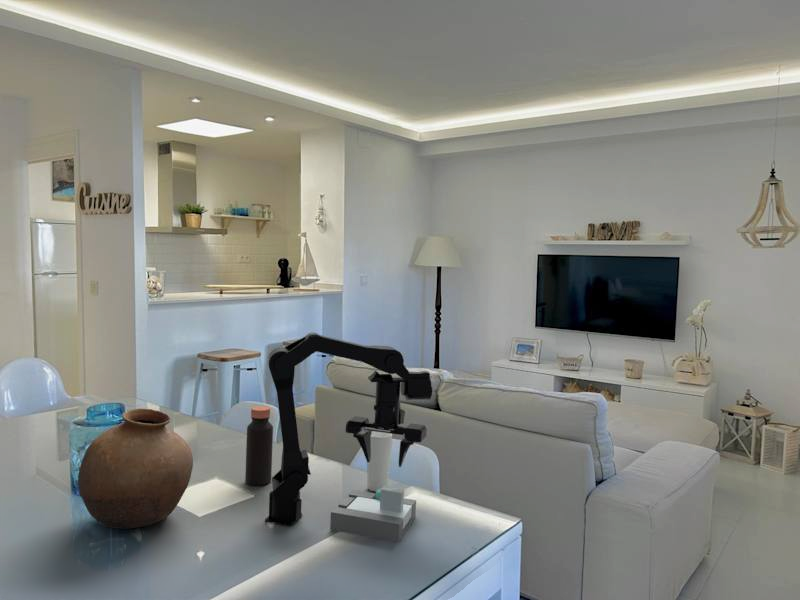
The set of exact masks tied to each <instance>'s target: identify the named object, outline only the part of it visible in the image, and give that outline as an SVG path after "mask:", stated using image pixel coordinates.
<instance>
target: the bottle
mask: <svg viewBox="0 0 800 600" xmlns="http://www.w3.org/2000/svg"><path fill="white" fill-rule="evenodd" d="M250 417H251V422H250V423H249V424H248V425H247V427H246V445H245V446H246V450H245V477H244V479H245V481H244V482H245V483H246V484H247V485H248V486H253V487H256V486H257V487H259V486H260V487H261V486H262V487H263V486H264V485H265V486H266V485H268V484H269V483H272V470H273V469H272V468H273V467H272V465H273V441H274V440H273V439H274V435H273V434H274V426H273V424H272V423H270V421H269V419H270V417H271V407H269V406H265V405H264V406H263V405H258V406H253V407H251V410H250Z"/></svg>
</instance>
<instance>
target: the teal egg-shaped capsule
mask: <svg viewBox="0 0 800 600" xmlns="http://www.w3.org/2000/svg"><path fill="white" fill-rule="evenodd" d="M380 492H381V489H378V490H376V492H375V494H376V500H380Z"/></svg>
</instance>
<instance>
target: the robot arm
mask: <svg viewBox="0 0 800 600" xmlns="http://www.w3.org/2000/svg"><path fill="white" fill-rule="evenodd" d="M314 353H322V354H326V355H331V356H335V357H339V358H343V359H348V360H351V361H355V362H356V361H357V362H360V363H364V364H365V365H368V366H371V367H373V368H375V369H377V370H379V371H382V372H383V373H379V372H378V371H377V370H374V371H373V373H372V374H370V375H369V376H368V377H367V379H368V380H369V381H370V382H371V383H376V384H375V399H374V400H375V402H374V403H375V404H374V405H373V410H374V421H373V422H371V421H370V420H369V418H368V417H362V416H355V415H354V417H352V418H350V419H349V420H348V421H347V422H346V424H345V433H346V434H352V437H353V438H355V439H357V441H358V443H359V445H360V447H361V449H362V452H363V454H364V458H365V460H366V463H367V462H370V459H371V433H372V431H376V432H384V433H391V434H392V435H400V436H403V437H402V438H403V439H401V440H400V443H399V453H398V467H399V468H401V467H402V466H403V463H404V461H405V458H406V455H407V453H408V450H409V449H410V447H411V446H412V445H414V444H415V443H422V442H423V440H425V438H426V437H427V427H426V425H425V424H418V423H412V422H411V423H409V424H408V425H407V426H399V425H404V423H405V422H404V421H405V416H406V414H405V413H406V411H405V410H404V409H402V408H401V402H400V399H401V398H400V397H401V396H402V397H404V398H405V400H406V401H414V400H415V401H418V400H419V401H421V400H422V401H428V400H431V399H432V396H433V386H432V379H431V373H430V372H429V371H428V370H424V371H423V370H422V371H409V369H408V368H407V367H406V365H405V364H404V362H405V361H404V356H403V354H402V353H401V351H399V350H397V349H396V348H394V347H392V346H390V345H365V344H360V343H356V342H355V343H354V342H351V341H347V340H343V339H339V338H334V337H331V336H330V337H329V336H326V335H323V334H322V335H321V334H319V333H317V332H309V333H307V334H306V335H304V336H303V337H301V338H300V339H297V340H295V341H293V342H292V343H289V344H288V345H286V346H284V347H282V346H281V347H280V346H279V347H276V348H274V349H272V350H271V351H270V353H269V354H268V356H267V363H268V367H269V368H268V369H269V372H270V375H271V378H272V381H273V384H274V388H275V390H276V397H277V406H278V407H277V408H278V415H279V424H280V431H281V440H282V453H281V464H280V470H279V471H277V472H276V473H275V474H274V475H273V476H271V484H272V490H271V491H270V492H269V494H268V495H269V497H268V498H269V499H268V500H269V501H268V516H266V518H265V519H264V521H265V522H266V523H273V524H277V525H281V526H288V527H290V526H293V524H294V523H296V522H297V521H298V520H299V519H301V517H302V516H303V513H302V503H303V502H302V499H301V492H300V490H301V489H302V488H303V489H304V487H305V486H306V484H307V483H308V482H309V475H310V476H311V475H312V473H311V470H310V465H309V463H310V461H309V459H310V457H309V454H308V451H307V449H306V448H305V449H303V450H301V448H300V441H299V433H298V431H299V430H298V425H297V424H298V423H297V416H296V408H295V400H294V398H295V397H294V389H293V388H294V381H295V369H296V366H297V365H299V364H301V363H302V362H304V361H305V360H306V359H307V358H309V357H310V356H311V355H314ZM393 374H396V375H397V376H399V377H394V376H393ZM400 394H401V395H400Z"/></svg>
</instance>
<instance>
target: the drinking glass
mask: <svg viewBox="0 0 800 600" xmlns="http://www.w3.org/2000/svg"><path fill="white" fill-rule="evenodd" d="M392 450H393V434H391V433H384V432H376V431H372V433H371V459H370V462H367V461H366V471H367V472H366V473H367V485H366V486H367V489H368V490H369V491H371V492H373V493H376V490H378V489H382V487H388V480H389V475H390V474H389V472H390V465H391V460H392V459H391V457H392Z"/></svg>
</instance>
